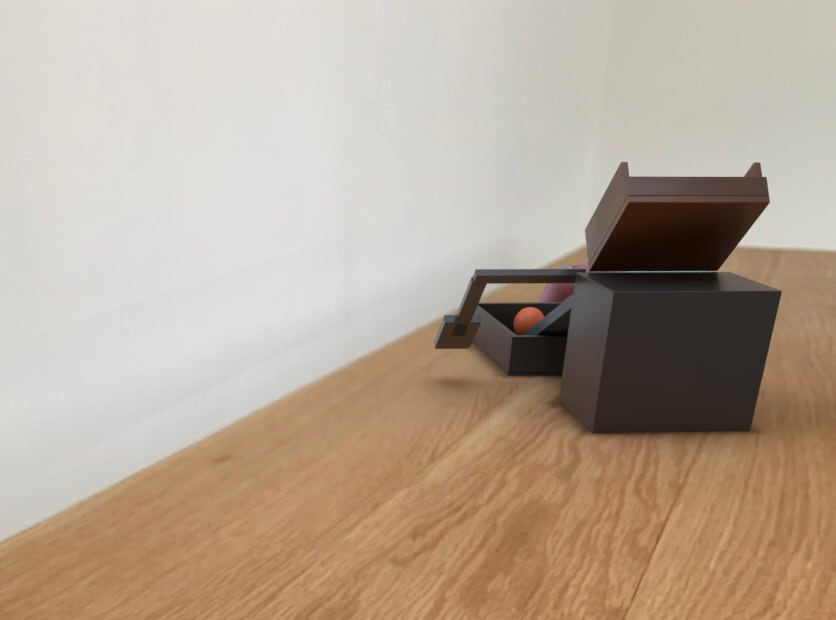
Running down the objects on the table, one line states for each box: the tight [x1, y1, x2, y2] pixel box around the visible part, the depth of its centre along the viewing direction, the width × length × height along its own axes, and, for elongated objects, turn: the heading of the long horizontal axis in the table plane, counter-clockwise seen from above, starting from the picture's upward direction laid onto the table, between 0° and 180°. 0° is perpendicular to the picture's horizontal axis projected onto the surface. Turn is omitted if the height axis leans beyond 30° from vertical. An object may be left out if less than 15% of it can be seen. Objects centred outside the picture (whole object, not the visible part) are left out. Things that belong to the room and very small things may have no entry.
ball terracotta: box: [513, 307, 544, 335], centre depth 107 cm, size 3×3×3 cm
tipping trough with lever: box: [433, 161, 771, 350], centre depth 85 cm, size 19×20×4 cm
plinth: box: [558, 271, 783, 435], centre depth 82 cm, size 8×12×10 cm
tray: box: [472, 301, 568, 377], centre depth 103 cm, size 16×15×4 cm
